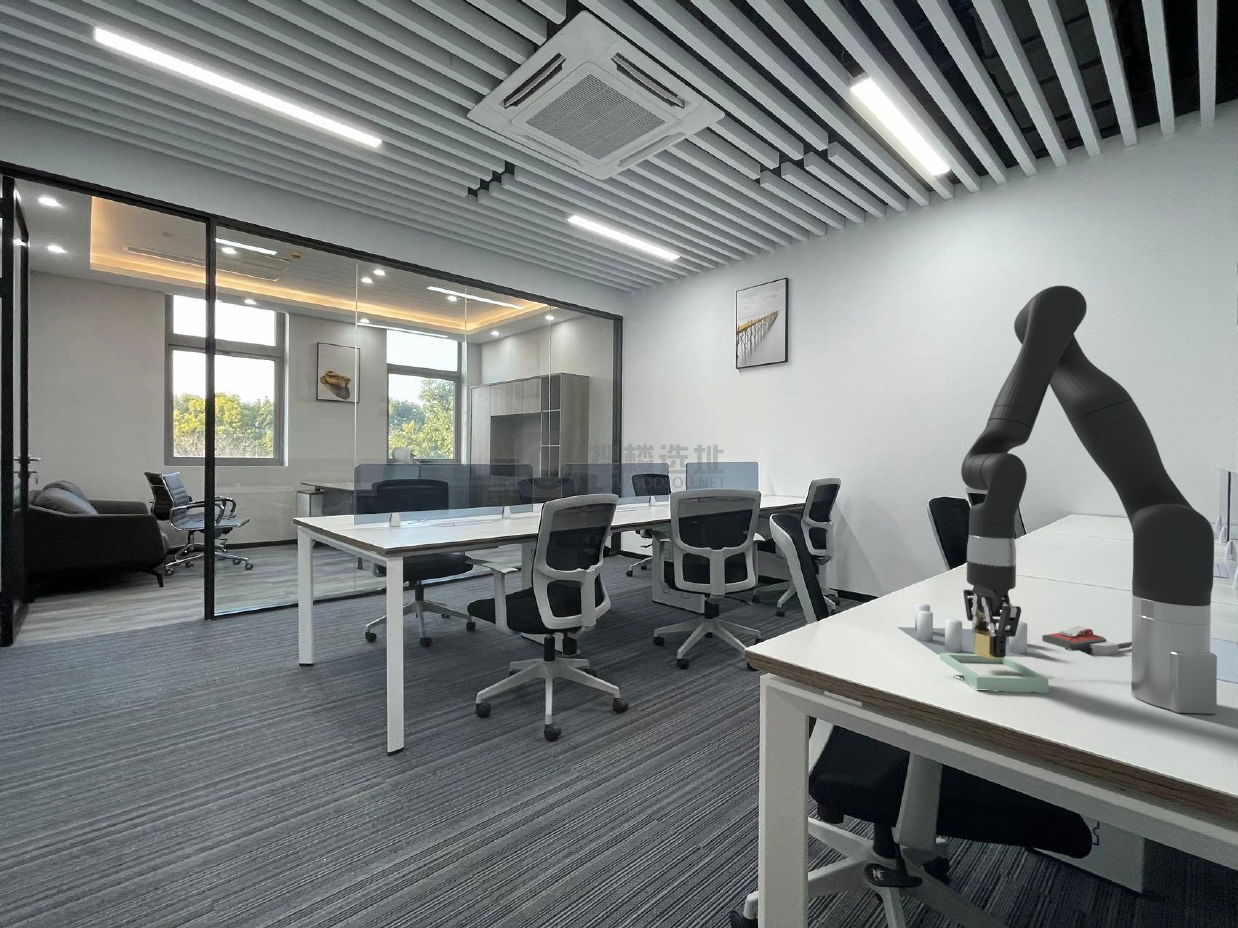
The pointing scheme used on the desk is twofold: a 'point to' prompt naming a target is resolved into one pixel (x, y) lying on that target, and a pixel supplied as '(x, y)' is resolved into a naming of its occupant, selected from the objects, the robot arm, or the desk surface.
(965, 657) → the tray
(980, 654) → the khaki cube
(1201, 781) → the desk surface
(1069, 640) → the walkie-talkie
